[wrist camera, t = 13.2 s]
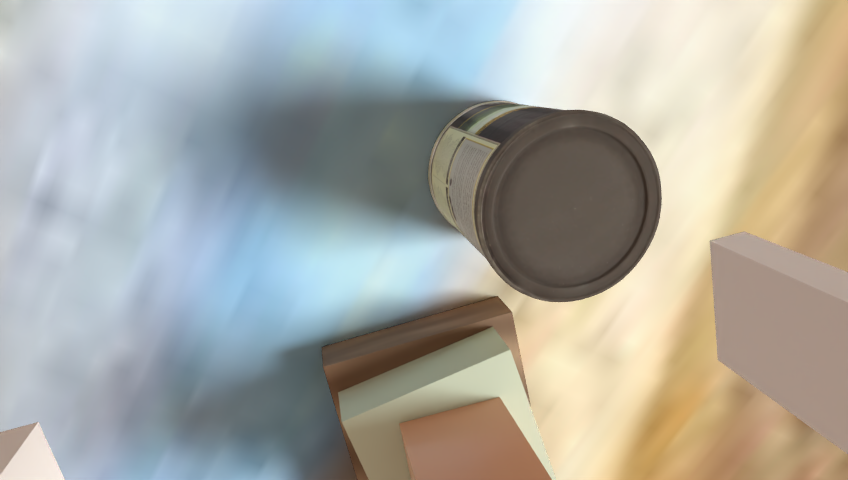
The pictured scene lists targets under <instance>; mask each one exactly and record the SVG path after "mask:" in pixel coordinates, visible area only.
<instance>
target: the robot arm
mask: <svg viewBox="0 0 848 480" xmlns="http://www.w3.org/2000/svg"><path fill="white" fill-rule="evenodd" d="M710 250H711V265H712V280H713V295H714V310H715V325H716V340H717V355H718V360H719V361H720V362H721V363H723V364H724V365H726V366H727V367H728V368H730V369H731V370H732V371H734V372H735V373H737V374H738V375H739V376H741V377H742V378H743V379H745V380H746V381H748V382H749V383H750V384H752V385H753V386H755V387H756V388H757V389H759V390H760V391H761V392H763V393H764V394H766V395H767V396H768V397H770V398H771V399H772V400H774V401H775V402H777V403H778V404H779V405H781V406H782V407H783V408H785V409H786V410H788V411H789V412H790V413H792V414H793V415H795V416H796V417H797V418H799V419H800V420H801V421H803V422H804V423H806V424H807V425H808V426H810V427H811V428H812V429H814V430H815V431H817V432H818V433H819V434H821V435H822V436H823V437H825V438H826V439H828V440H829V441H830V442H832V443H833V444H835V445H836V446H837V447H839V448H840V449H841V450H843V451H844V452H846V453H847V454H848V272H846V271H843V270H841V269H838V268H836V267H833V266H831V265H828V264H826V263H823V262H820V261H818V260H815V259H813V258H810V257H808V256H805V255H803V254H800V253H798V252H795V251H792V250H790V249H787V248H785V247H782V246H780V245H777V244H775V243H772V242H770V241H767V240H764V239H762V238H759V237H757V236H754V235H752V234H749V233H747V232H741V233H737V234H733V235H729V236H726V237H722V238H718V239H715V240H711V241H710ZM0 480H65V479H64V477H63V475H62V473H61V471H60V468H59V466H58V464H57V462H56V460H55V457H54V455H53V453H52V451H51V449H50V447H49V444H48V442H47V440H46V438H45V436H44V433H43V431H42V429H41V427H40V425H39V423H38V422H37V423H33V424H29V425H26V426H22V427H18V428H15V429H11V430H7V431H3V432H0Z"/></svg>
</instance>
